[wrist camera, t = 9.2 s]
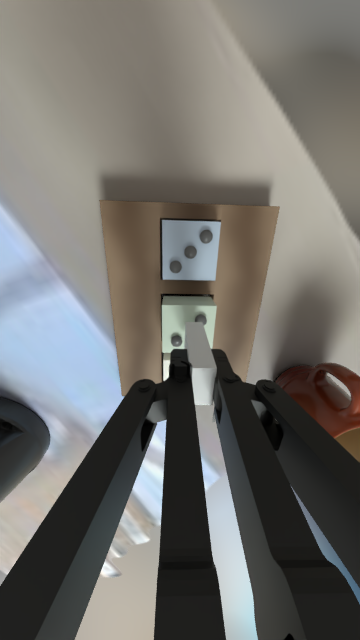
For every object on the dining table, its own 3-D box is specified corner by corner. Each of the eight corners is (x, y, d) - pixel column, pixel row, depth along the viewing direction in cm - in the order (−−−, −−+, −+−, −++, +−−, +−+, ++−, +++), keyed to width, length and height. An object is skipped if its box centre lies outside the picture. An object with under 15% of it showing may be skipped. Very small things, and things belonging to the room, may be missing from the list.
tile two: (163, 337, 22) (162, 354, 19) (163, 295, 20) (161, 306, 17) (206, 338, 22) (212, 354, 19) (210, 296, 20) (217, 306, 17)
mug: (321, 401, 29) (392, 479, 20) (264, 409, 29) (307, 489, 20) (334, 331, 25) (435, 388, 15) (266, 341, 25) (323, 403, 15)
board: (125, 385, 27) (121, 395, 25) (106, 204, 18) (99, 200, 17) (238, 385, 27) (242, 395, 26) (269, 210, 19) (279, 206, 17)
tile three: (164, 274, 21) (162, 280, 18) (163, 223, 19) (162, 219, 16) (209, 275, 21) (215, 281, 18) (213, 224, 19) (221, 221, 16)
